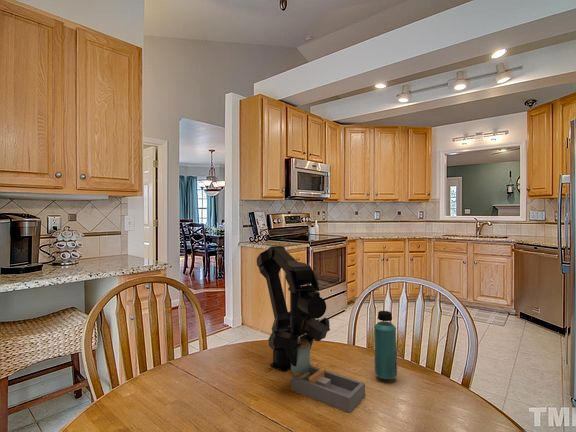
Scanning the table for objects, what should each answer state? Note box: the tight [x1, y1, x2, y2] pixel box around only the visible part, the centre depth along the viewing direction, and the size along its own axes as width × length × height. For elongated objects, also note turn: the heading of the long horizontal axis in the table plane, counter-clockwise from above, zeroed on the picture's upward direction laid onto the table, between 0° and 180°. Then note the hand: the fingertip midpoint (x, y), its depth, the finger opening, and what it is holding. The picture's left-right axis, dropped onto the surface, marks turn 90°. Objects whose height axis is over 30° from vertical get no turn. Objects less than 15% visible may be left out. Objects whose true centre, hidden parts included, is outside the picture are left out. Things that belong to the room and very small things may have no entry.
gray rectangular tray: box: [290, 364, 366, 414], centre depth 90 cm, size 18×9×4 cm, turn 53°
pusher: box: [309, 368, 331, 388], centre depth 91 cm, size 4×7×3 cm, turn 143°
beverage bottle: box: [373, 310, 398, 380], centre depth 97 cm, size 6×7×20 cm
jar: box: [290, 337, 311, 375], centre depth 95 cm, size 6×6×8 cm
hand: (300, 362), depth 95 cm, fingers closed on jar, 6 cm apart
